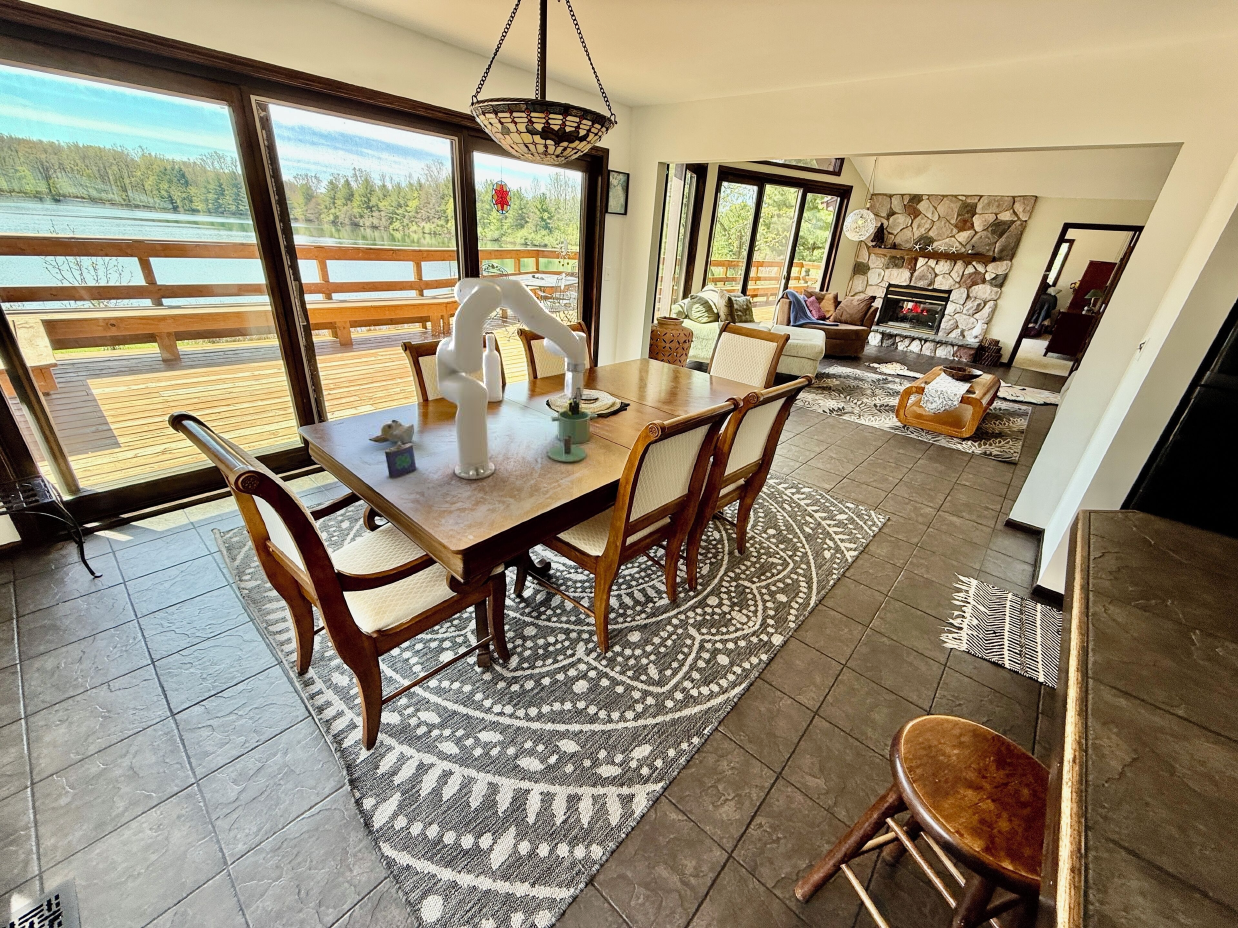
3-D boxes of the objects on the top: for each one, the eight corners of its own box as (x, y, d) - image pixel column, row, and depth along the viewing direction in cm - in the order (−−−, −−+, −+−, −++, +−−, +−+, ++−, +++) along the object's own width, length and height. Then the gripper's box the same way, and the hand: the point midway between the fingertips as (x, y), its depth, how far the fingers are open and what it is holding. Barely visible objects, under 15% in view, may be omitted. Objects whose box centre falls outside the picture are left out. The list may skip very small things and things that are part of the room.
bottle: (505, 399, 228) (503, 335, 215) (493, 403, 222) (490, 337, 209) (493, 395, 231) (490, 332, 218) (481, 399, 225) (477, 334, 212)
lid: (590, 461, 172) (591, 443, 168) (553, 465, 167) (553, 446, 164) (579, 446, 183) (580, 429, 180) (544, 449, 178) (544, 431, 175)
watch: (581, 413, 188) (582, 398, 185) (581, 415, 185) (582, 401, 183) (566, 412, 187) (566, 398, 185) (566, 415, 185) (566, 400, 182)
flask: (413, 466, 159) (409, 437, 154) (418, 469, 158) (414, 439, 153) (387, 476, 152) (382, 445, 148) (392, 479, 151) (387, 448, 146)
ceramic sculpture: (406, 425, 168) (364, 425, 168) (410, 448, 172) (369, 447, 172) (418, 415, 178) (378, 415, 178) (422, 437, 181) (383, 436, 182)
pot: (600, 441, 188) (601, 418, 184) (555, 445, 182) (555, 422, 178) (590, 429, 199) (591, 408, 195) (547, 433, 193) (547, 410, 189)
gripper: (559, 361, 184) (559, 407, 192) (571, 372, 170) (570, 421, 178) (578, 361, 186) (577, 406, 194) (591, 371, 173) (589, 419, 181)
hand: (574, 412), depth 186 cm, fingers closed on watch, 2 cm apart
